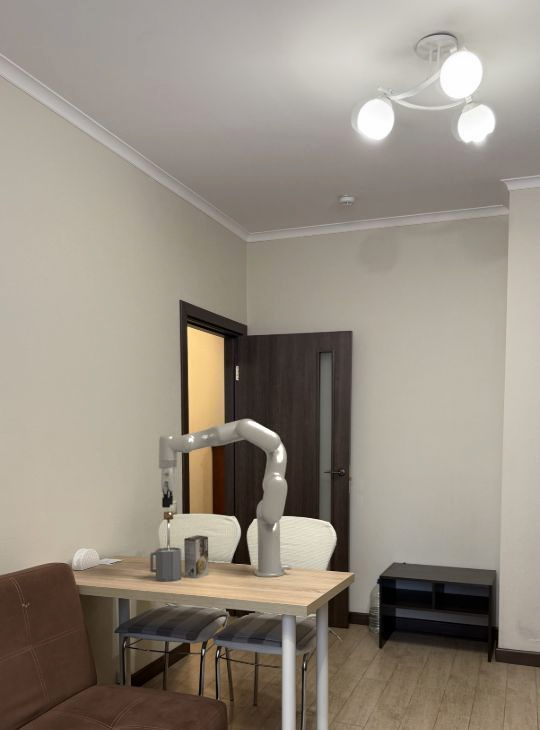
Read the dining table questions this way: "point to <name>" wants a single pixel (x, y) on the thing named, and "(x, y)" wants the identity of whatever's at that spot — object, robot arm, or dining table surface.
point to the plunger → (168, 530)
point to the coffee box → (196, 556)
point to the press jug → (167, 565)
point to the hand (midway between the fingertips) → (167, 506)
